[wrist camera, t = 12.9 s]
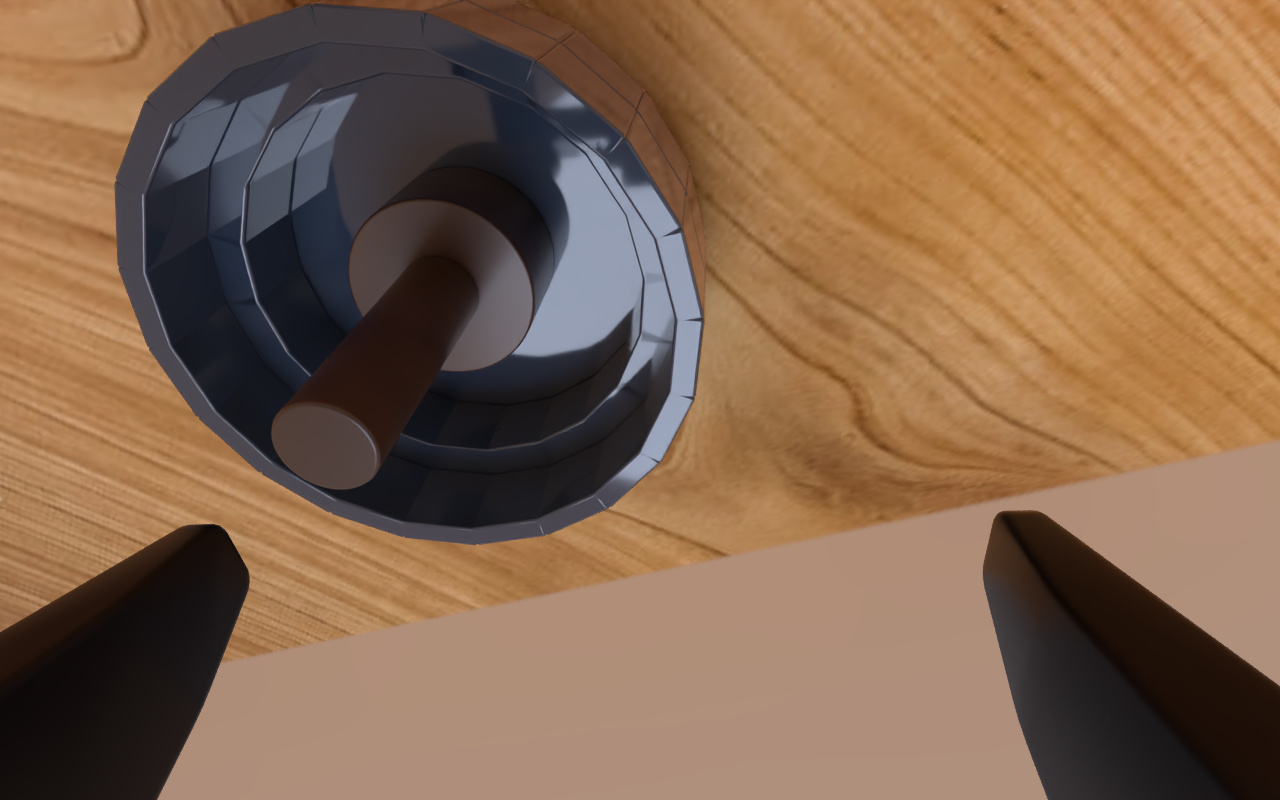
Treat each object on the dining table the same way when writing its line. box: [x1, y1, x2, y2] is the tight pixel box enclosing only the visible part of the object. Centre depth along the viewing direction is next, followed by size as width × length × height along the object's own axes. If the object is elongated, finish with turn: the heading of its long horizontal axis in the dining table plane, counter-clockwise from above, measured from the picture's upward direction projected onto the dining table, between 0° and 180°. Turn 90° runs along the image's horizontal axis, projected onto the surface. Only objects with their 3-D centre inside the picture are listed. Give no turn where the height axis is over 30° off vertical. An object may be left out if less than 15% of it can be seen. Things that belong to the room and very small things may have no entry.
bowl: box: [115, 0, 706, 545], centre depth 17 cm, size 12×12×5 cm
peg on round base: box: [271, 167, 554, 489], centre depth 15 cm, size 4×4×8 cm
